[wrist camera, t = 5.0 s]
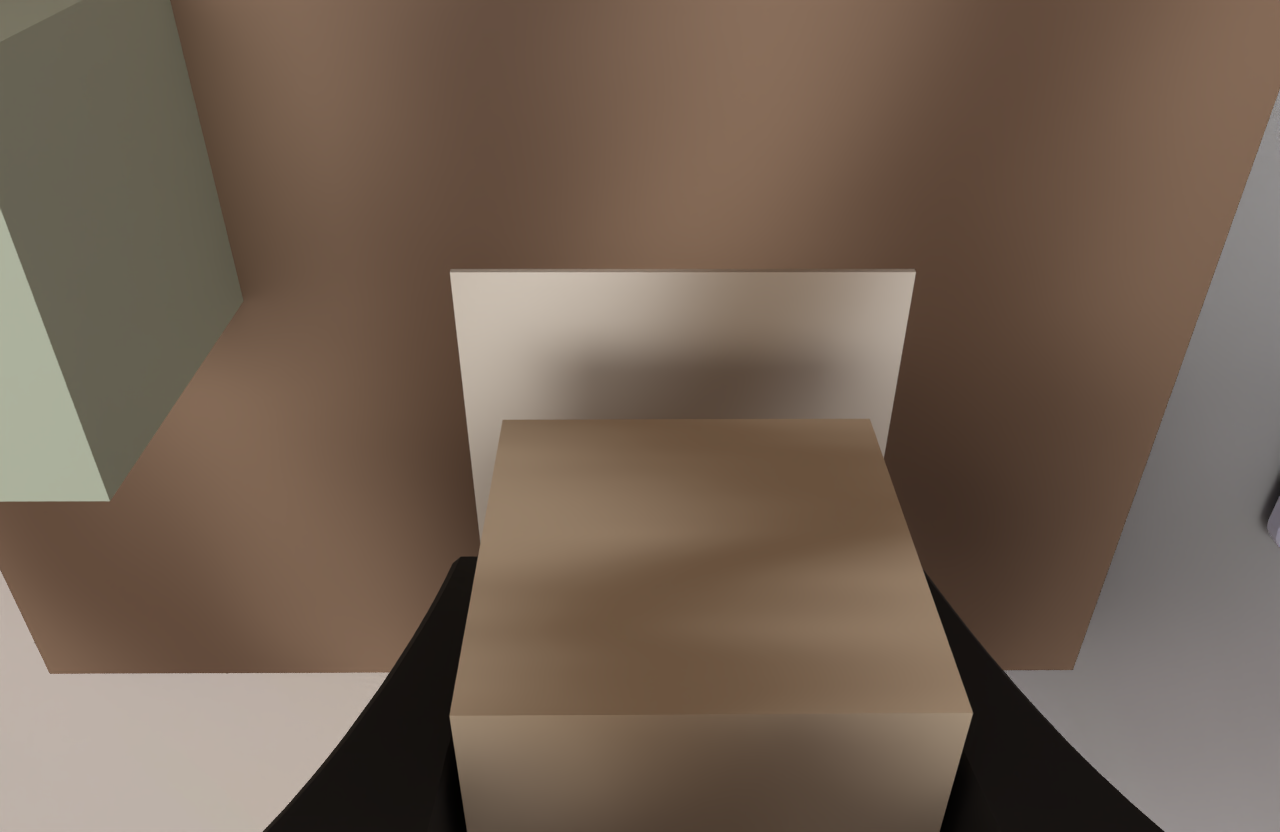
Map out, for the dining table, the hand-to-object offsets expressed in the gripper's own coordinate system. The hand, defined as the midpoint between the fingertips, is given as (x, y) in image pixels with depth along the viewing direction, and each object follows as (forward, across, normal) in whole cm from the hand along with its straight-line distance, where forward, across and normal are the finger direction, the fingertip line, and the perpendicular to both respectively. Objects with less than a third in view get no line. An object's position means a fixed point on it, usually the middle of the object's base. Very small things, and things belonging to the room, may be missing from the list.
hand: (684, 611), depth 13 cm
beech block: (+1, 0, 0) cm, 1 cm away
